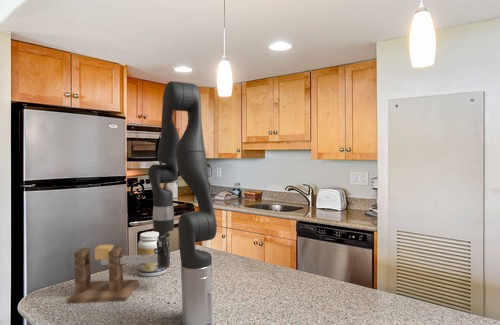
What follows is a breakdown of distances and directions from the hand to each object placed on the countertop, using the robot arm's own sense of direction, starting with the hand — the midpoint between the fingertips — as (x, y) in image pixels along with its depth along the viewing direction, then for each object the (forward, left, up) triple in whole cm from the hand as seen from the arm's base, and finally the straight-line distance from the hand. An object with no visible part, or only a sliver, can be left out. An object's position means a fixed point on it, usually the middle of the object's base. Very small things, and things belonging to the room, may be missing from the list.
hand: (164, 263), depth 125 cm
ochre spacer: (+22, 0, +3) cm, 22 cm away
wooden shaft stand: (+23, 0, -10) cm, 25 cm away
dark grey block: (+10, 0, -1) cm, 10 cm away
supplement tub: (+9, -20, -10) cm, 24 cm away
